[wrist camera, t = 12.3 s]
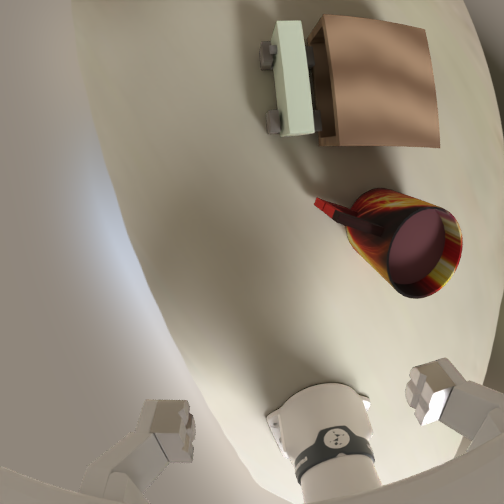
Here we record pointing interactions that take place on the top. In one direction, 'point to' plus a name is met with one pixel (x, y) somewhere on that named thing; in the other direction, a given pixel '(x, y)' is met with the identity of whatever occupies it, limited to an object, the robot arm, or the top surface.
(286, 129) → the door
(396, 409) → the top surface
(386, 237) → the mug
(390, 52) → the cabinet
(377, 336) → the top surface
